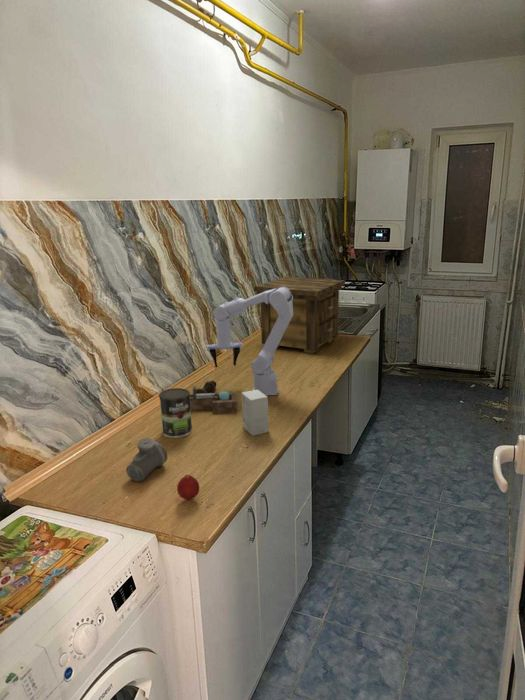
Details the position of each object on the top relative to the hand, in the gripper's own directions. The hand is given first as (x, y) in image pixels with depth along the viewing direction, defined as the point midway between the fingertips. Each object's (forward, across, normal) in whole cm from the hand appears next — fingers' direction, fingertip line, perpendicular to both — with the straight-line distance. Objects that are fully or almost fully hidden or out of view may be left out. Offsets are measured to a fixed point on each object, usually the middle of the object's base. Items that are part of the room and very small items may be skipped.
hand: (225, 365), depth 212 cm
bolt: (+10, -8, -5) cm, 14 cm away
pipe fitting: (+10, -31, -62) cm, 70 cm away
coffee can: (+10, -21, -36) cm, 43 cm away
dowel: (+10, -3, -20) cm, 22 cm away
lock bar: (+6, -10, -19) cm, 22 cm away
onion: (+10, -19, -79) cm, 82 cm away
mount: (+10, -7, -19) cm, 23 cm away
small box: (+10, +5, -41) cm, 43 cm away
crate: (+10, +46, +55) cm, 73 cm away
